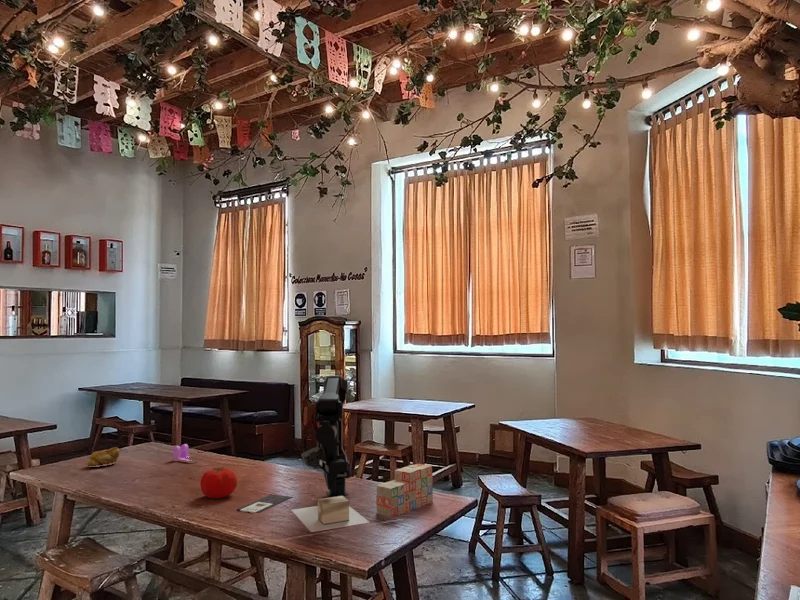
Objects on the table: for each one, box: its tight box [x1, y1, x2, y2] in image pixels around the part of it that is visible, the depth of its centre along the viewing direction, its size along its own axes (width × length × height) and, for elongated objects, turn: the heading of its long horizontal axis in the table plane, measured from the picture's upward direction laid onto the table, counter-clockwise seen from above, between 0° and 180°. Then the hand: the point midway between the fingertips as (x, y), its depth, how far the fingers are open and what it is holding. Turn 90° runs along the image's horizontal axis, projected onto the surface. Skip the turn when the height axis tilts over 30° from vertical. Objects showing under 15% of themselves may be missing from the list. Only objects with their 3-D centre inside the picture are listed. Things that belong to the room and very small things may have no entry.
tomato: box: [199, 466, 238, 499], centre depth 203 cm, size 11×13×10 cm
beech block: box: [317, 496, 350, 525], centre depth 175 cm, size 6×8×6 cm
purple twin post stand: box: [172, 443, 192, 461], centre depth 260 cm, size 13×6×7 cm, turn 56°
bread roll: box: [86, 446, 120, 467], centre depth 254 cm, size 13×10×8 cm
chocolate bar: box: [236, 493, 293, 514], centre depth 193 cm, size 9×1×18 cm
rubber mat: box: [291, 505, 370, 533], centre depth 179 cm, size 23×18×1 cm
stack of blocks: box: [375, 463, 434, 518], centre depth 186 cm, size 21×6×12 cm, turn 140°
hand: (329, 489), depth 178 cm, fingers closed
